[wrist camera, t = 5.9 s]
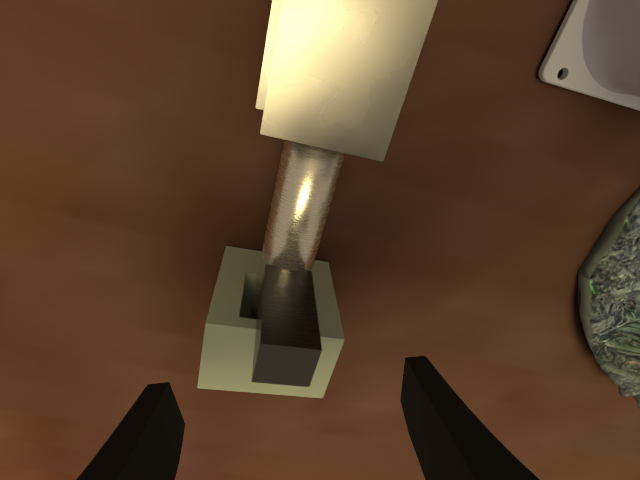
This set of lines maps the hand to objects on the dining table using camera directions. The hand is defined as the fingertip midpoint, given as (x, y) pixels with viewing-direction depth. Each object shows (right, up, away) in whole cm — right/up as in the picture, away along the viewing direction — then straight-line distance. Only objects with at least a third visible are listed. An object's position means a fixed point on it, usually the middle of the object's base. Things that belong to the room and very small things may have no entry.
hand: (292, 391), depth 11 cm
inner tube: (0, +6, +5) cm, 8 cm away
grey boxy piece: (+1, +14, +4) cm, 15 cm away
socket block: (-2, +2, +11) cm, 11 cm away
